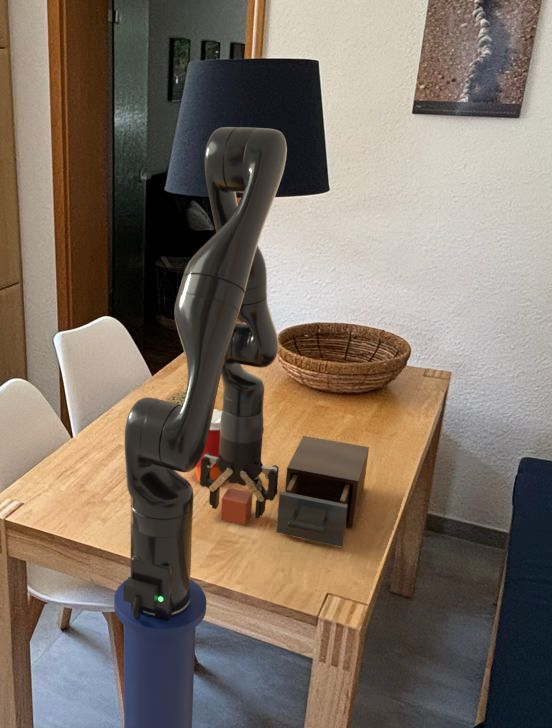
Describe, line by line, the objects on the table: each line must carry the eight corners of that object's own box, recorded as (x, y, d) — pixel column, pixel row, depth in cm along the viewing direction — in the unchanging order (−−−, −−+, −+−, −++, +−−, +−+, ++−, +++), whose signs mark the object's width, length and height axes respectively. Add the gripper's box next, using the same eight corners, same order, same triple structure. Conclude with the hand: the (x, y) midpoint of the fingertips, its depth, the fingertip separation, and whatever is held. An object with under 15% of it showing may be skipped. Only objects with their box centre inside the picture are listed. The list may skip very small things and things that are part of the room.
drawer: (337, 562, 128) (342, 521, 125) (269, 546, 133) (272, 507, 130) (353, 509, 144) (358, 472, 141) (292, 497, 148) (295, 460, 145)
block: (244, 525, 140) (246, 503, 139) (220, 520, 142) (221, 498, 141) (251, 513, 144) (252, 491, 143) (227, 508, 146) (228, 486, 144)
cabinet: (352, 527, 139) (358, 481, 136) (283, 513, 144) (286, 467, 141) (363, 490, 152) (369, 447, 148) (299, 478, 157) (303, 435, 153)
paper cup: (209, 465, 162) (211, 404, 157) (236, 479, 156) (240, 416, 151) (182, 477, 157) (184, 415, 152) (209, 492, 152) (212, 427, 147)
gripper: (196, 433, 136) (193, 513, 143) (276, 447, 131) (270, 530, 137) (209, 417, 143) (206, 494, 149) (286, 430, 137) (279, 509, 143)
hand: (236, 511), depth 143 cm, fingers open, 7 cm apart
